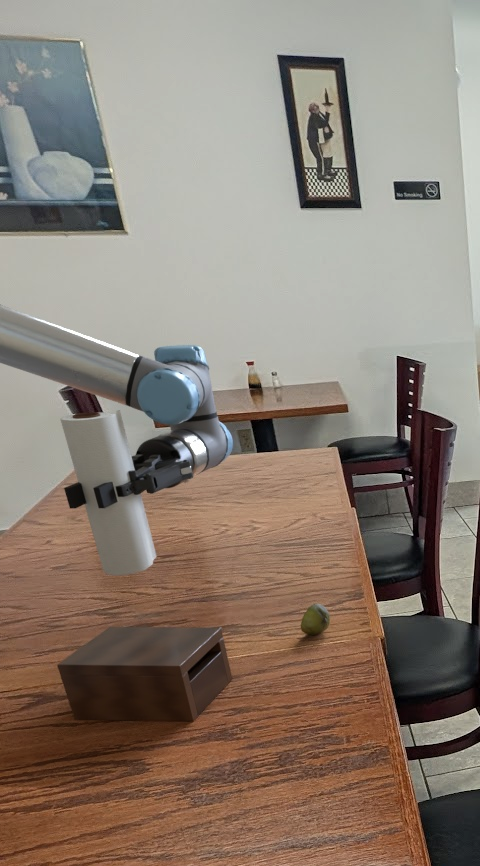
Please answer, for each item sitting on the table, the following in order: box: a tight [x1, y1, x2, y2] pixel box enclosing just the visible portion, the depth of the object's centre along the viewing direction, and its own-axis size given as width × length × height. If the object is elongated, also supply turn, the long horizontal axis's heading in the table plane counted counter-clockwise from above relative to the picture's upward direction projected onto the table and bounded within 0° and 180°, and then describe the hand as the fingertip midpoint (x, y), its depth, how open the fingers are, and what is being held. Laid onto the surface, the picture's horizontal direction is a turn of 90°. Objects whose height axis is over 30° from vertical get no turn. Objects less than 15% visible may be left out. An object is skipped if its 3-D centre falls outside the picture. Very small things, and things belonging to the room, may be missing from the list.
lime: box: [300, 603, 331, 636], centre depth 129 cm, size 4×5×5 cm
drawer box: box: [56, 626, 233, 722], centre depth 110 cm, size 16×12×8 cm
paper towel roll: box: [60, 409, 158, 577], centre depth 112 cm, size 7×6×21 cm
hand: (84, 498), depth 106 cm, fingers closed on paper towel roll, 3 cm apart
